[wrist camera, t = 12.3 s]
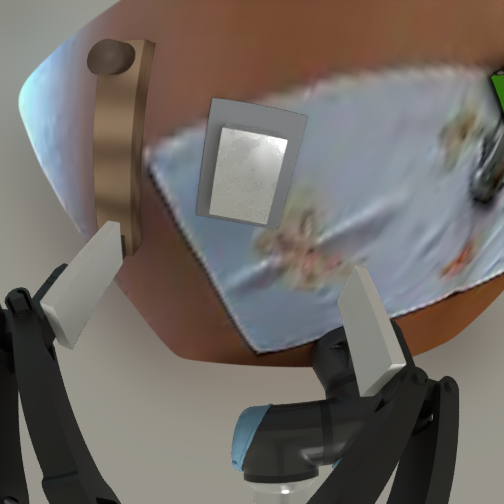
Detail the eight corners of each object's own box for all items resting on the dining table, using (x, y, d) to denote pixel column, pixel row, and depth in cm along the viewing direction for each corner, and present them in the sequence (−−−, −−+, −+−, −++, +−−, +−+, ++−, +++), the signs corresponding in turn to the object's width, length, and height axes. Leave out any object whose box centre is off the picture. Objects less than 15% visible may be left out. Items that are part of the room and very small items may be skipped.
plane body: (140, 243, 35) (111, 292, 27) (110, 237, 35) (75, 283, 26) (155, 43, 21) (110, 28, 12) (116, 45, 20) (63, 38, 12)
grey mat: (277, 228, 33) (277, 229, 33) (196, 213, 32) (195, 214, 32) (307, 115, 25) (307, 116, 25) (213, 97, 25) (212, 97, 24)
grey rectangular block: (265, 208, 31) (266, 224, 28) (215, 198, 31) (209, 214, 27) (284, 133, 26) (287, 140, 23) (227, 122, 26) (222, 127, 22)
